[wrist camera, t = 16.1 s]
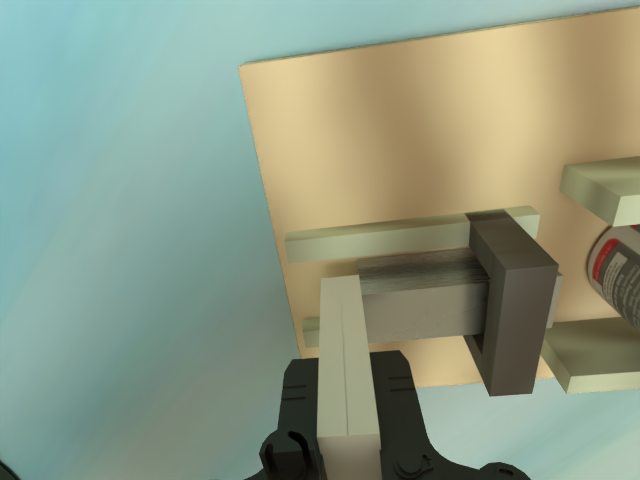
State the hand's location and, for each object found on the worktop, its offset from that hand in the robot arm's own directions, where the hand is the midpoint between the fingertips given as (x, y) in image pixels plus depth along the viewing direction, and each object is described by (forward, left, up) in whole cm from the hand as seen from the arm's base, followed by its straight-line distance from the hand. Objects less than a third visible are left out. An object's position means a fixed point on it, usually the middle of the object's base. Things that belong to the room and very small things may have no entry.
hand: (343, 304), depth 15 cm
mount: (+8, +1, -3) cm, 9 cm away
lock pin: (+4, 0, -1) cm, 4 cm away
